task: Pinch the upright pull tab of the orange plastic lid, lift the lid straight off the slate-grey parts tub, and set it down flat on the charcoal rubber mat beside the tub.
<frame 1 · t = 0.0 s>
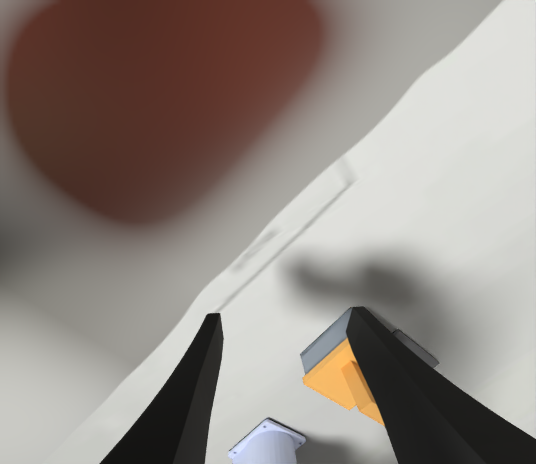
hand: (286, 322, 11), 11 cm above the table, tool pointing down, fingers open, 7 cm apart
lid: (351, 360, 23), point 2 cm above the table, touching tub
mat: (384, 372, 28), on the table
tub: (343, 344, 26), on the table
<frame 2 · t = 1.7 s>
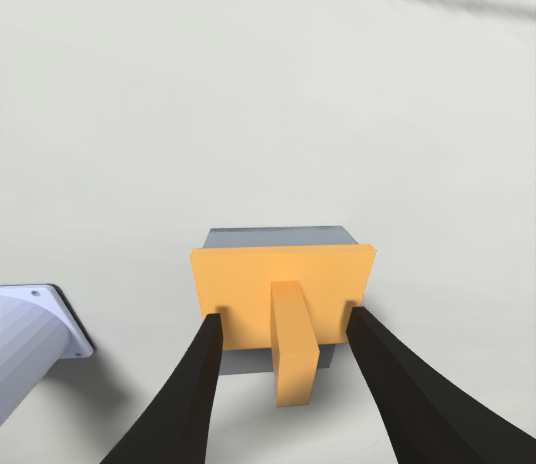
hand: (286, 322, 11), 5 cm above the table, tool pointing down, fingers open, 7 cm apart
lid: (279, 289, 13), point 2 cm above the table, touching tub
mat: (273, 340, 19), on the table
tub: (276, 268, 15), on the table
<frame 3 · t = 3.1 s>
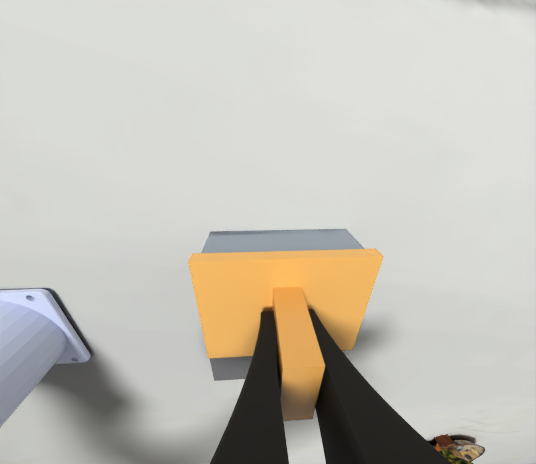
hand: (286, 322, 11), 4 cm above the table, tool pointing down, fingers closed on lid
lid: (281, 294, 13), point 2 cm above the table, touching gripper, tub
burger: (438, 443, 35), on the table
mat: (274, 345, 19), on the table
tub: (277, 272, 15), on the table
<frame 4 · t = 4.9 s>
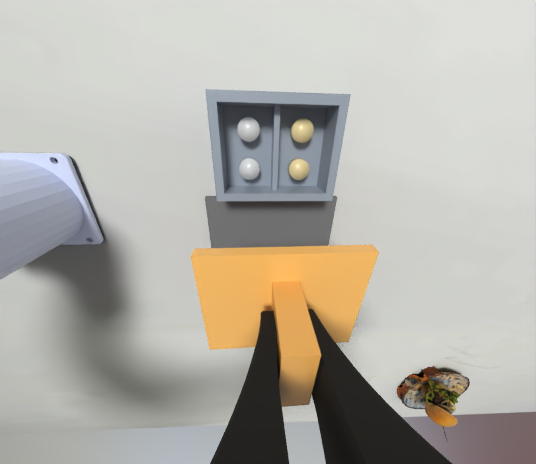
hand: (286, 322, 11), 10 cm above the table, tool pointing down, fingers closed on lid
lid: (280, 288, 13), point 8 cm above the table, touching gripper
burger: (426, 380, 37), on the table
mat: (270, 238, 20), on the table
tub: (273, 149, 16), on the table
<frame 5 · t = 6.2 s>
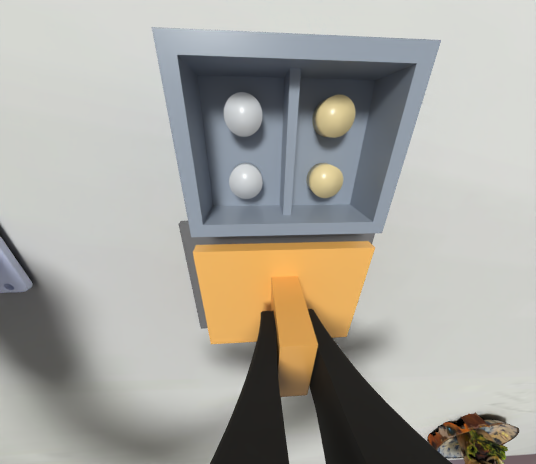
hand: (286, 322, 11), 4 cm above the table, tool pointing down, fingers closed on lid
lid: (280, 284, 13), point 1 cm above the table, touching gripper
burger: (463, 425, 31), on the table
mat: (278, 277, 14), on the table
tub: (284, 149, 10), on the table
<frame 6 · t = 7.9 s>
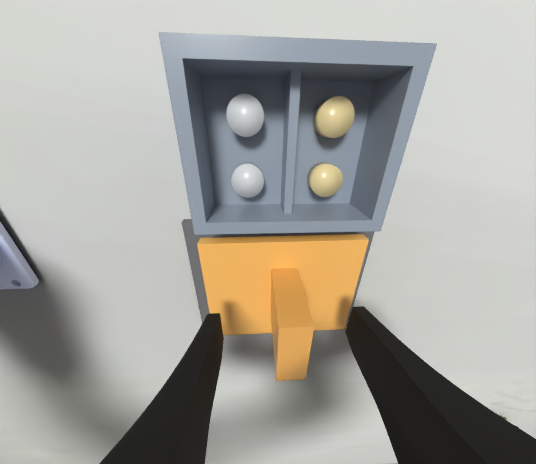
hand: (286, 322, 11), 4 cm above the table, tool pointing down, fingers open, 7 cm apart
lid: (279, 277, 14), resting on mat
mat: (279, 275, 14), on the table
tub: (285, 149, 11), on the table
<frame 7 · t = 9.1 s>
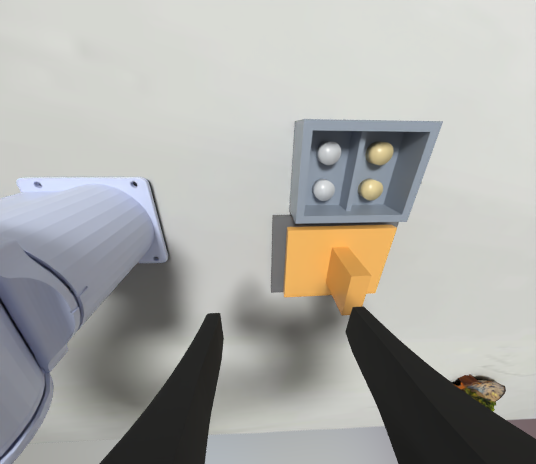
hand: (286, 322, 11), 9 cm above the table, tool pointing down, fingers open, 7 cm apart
lid: (330, 256, 20), resting on mat
burger: (460, 388, 37), on the table
mat: (329, 254, 20), on the table
tub: (344, 169, 17), on the table
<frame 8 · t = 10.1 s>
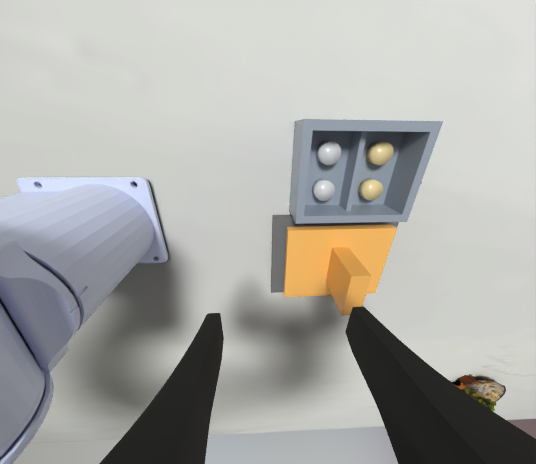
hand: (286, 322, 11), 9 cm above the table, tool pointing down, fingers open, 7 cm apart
lid: (330, 256, 20), resting on mat
burger: (460, 388, 37), on the table
mat: (329, 254, 20), on the table
tub: (344, 169, 17), on the table
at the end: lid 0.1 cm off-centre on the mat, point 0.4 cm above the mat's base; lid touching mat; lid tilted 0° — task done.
